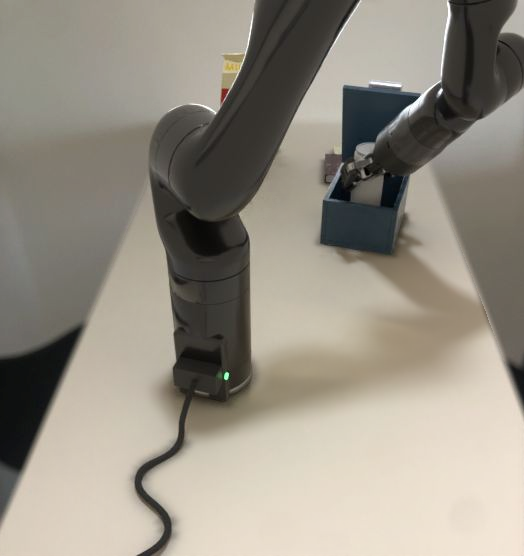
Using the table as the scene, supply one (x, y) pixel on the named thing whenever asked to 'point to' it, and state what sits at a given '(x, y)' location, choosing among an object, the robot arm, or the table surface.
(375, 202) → the beverage can
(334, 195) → the blue open box
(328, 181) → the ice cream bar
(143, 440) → the table surface
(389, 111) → the lid
